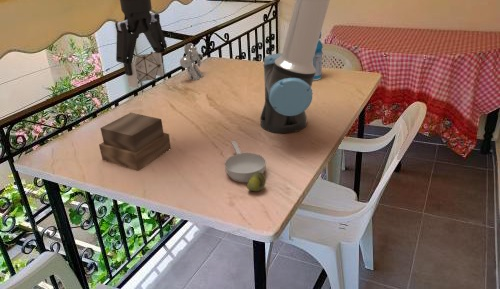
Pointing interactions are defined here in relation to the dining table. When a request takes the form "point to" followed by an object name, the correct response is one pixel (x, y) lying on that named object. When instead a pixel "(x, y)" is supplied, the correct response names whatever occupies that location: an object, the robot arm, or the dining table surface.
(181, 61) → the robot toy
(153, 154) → the walnut tower base
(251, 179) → the lime
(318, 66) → the beverage bottle
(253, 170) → the saucepan
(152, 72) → the game die
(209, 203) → the dining table surface
